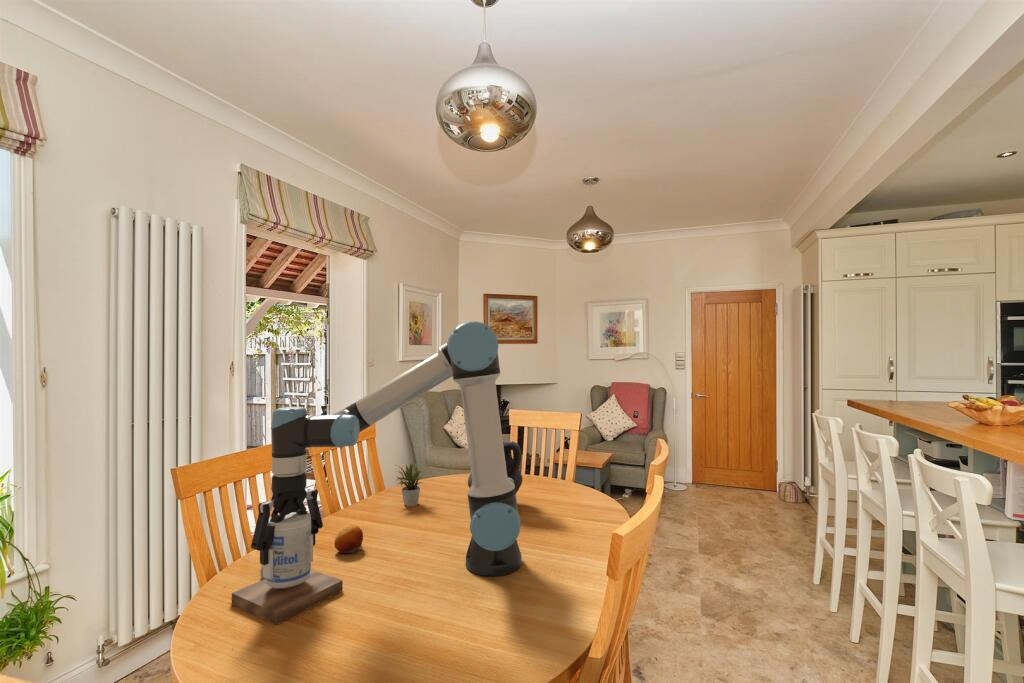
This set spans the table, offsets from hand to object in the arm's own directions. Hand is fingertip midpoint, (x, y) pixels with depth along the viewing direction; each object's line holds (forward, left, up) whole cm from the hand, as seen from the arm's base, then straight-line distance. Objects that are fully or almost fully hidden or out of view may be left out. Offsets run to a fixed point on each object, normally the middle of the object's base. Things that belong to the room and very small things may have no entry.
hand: (288, 568), depth 112 cm
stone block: (+15, -9, -7) cm, 19 cm away
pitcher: (-6, -81, -7) cm, 82 cm away
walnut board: (0, 0, -7) cm, 7 cm away
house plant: (+26, -68, -7) cm, 73 cm away
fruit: (+10, -26, -7) cm, 29 cm away
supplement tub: (0, 0, -3) cm, 3 cm away
